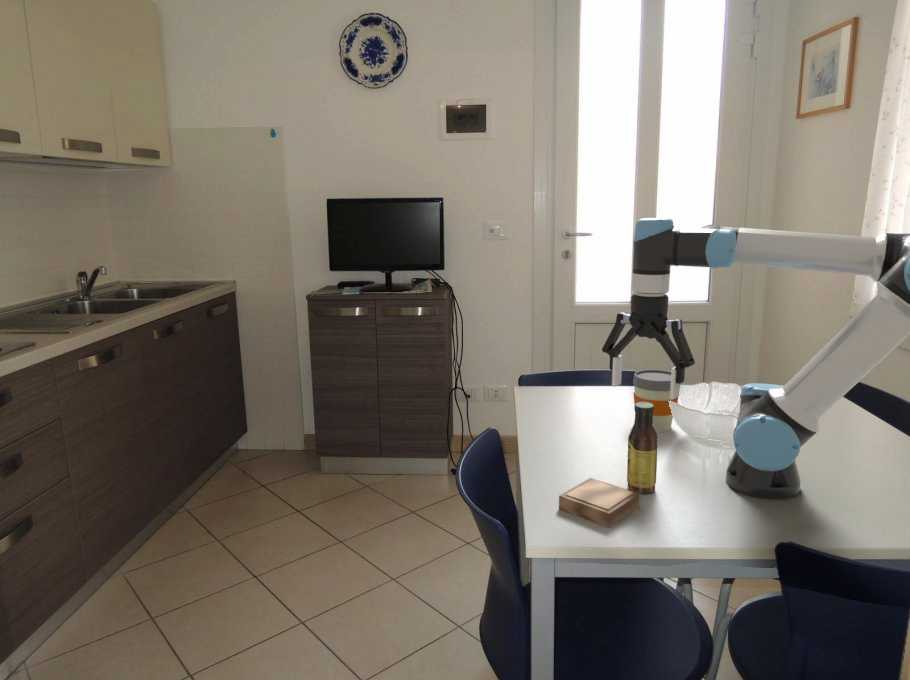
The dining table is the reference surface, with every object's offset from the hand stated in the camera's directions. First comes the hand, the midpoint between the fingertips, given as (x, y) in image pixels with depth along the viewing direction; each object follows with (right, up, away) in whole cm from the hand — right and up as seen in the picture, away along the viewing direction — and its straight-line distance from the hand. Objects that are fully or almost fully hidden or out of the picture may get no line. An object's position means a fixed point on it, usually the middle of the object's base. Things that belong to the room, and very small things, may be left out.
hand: (644, 391), depth 144 cm
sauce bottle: (+1, -22, +5) cm, 23 cm away
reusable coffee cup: (+15, -13, +44) cm, 48 cm away
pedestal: (-11, -24, -4) cm, 27 cm away
